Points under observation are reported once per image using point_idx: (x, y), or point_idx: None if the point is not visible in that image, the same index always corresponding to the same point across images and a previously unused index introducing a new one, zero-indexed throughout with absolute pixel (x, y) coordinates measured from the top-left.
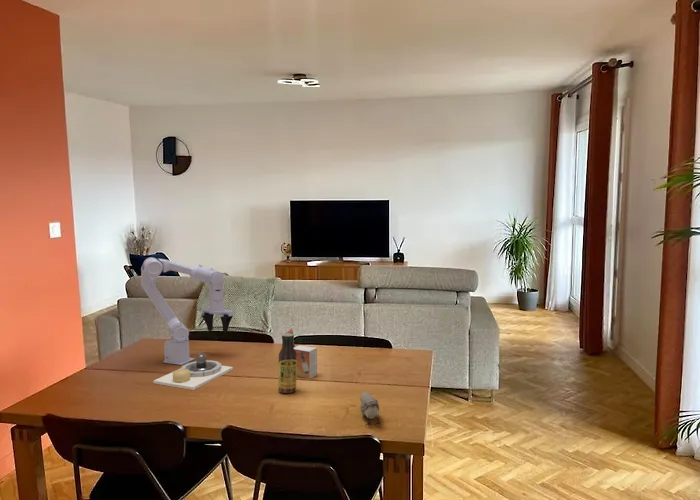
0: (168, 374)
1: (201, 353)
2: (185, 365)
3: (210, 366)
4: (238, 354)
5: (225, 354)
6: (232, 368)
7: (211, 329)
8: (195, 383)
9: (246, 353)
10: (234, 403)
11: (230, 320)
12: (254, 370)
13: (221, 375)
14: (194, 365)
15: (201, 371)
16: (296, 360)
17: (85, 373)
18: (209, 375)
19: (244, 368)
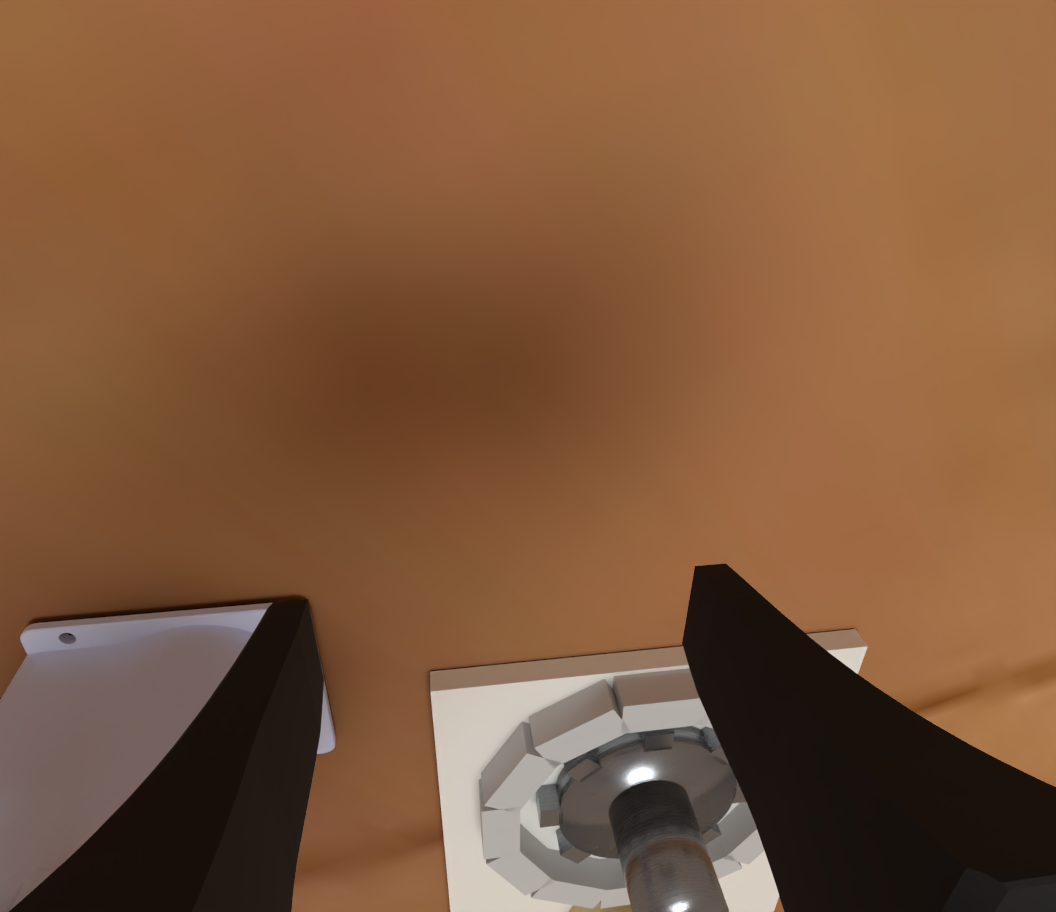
0: (460, 907)
1: (663, 906)
2: (502, 850)
3: (713, 772)
4: (696, 230)
5: (518, 304)
6: (859, 641)
7: (311, 647)
8: (747, 904)
9: (791, 139)
10: None
11: (961, 752)
12: (1051, 571)
13: None
14: (563, 809)
15: (718, 862)
16: None
17: None
18: None
19: (948, 570)
